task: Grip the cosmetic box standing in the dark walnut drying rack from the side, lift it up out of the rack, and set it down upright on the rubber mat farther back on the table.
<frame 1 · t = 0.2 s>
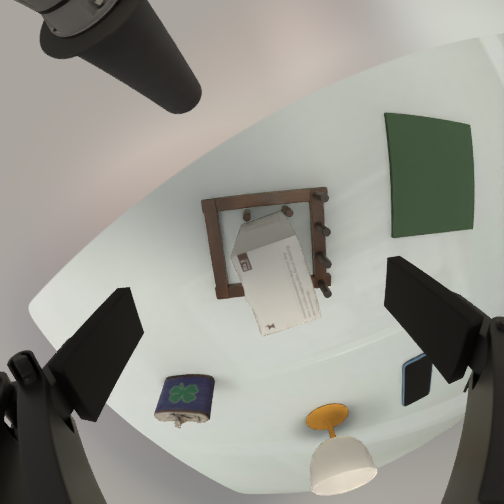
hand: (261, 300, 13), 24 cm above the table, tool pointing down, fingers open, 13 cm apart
flask: (189, 379, 44), on the table
rack: (269, 243, 37), on the table
cup: (327, 416, 48), on the table
cosmetic box: (268, 243, 37), resting in rack
smartphone: (416, 379, 46), on the table
mat: (436, 175, 34), on the table
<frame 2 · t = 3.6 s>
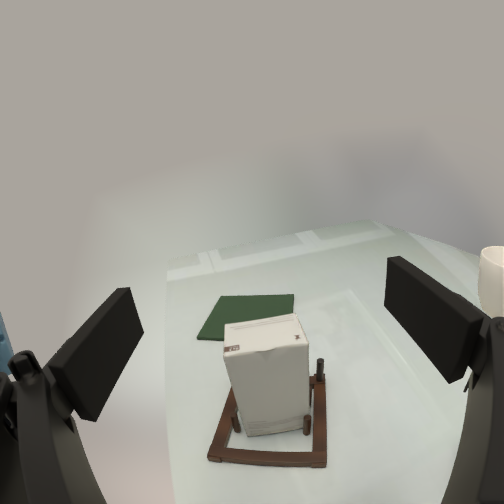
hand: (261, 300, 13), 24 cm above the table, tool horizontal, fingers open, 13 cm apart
rack: (273, 418, 31), on the table
cup: (486, 348, 32), on the table
cosmetic box: (274, 419, 31), resting in rack
mat: (250, 316, 58), on the table
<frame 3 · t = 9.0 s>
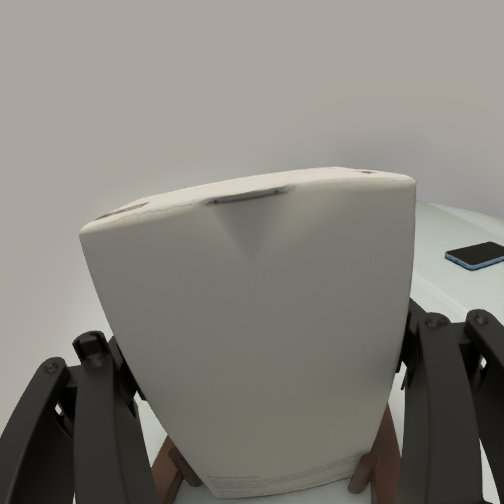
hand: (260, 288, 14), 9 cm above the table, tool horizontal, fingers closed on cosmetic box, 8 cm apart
rack: (278, 456, 12), on the table
cosmetic box: (279, 458, 12), resting in rack, touching gripper
smartphone: (482, 257, 33), on the table
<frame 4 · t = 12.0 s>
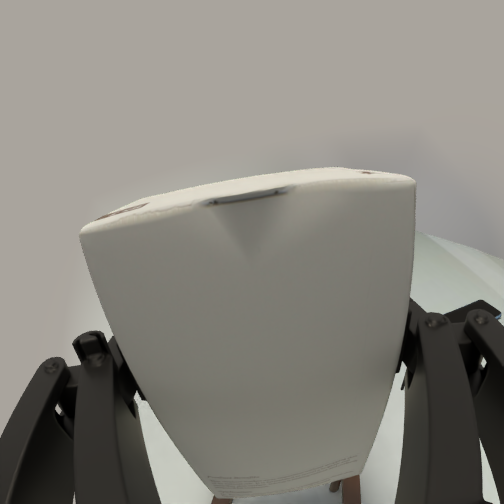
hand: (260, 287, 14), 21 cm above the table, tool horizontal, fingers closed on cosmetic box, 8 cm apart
cosmetic box: (279, 459, 12), point 12 cm above the table, touching gripper
smartphone: (470, 320, 37), on the table
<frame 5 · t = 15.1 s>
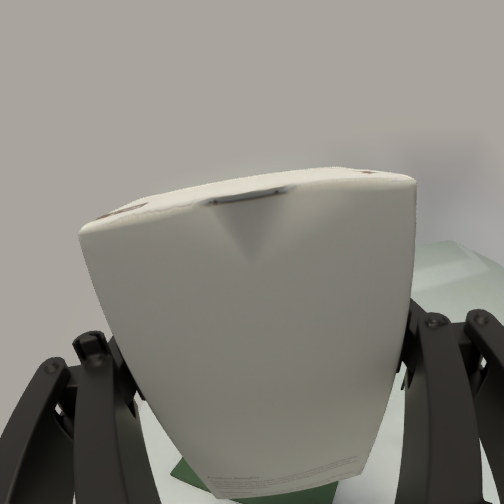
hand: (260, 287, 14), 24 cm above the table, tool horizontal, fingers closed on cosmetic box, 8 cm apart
cosmetic box: (279, 459, 12), point 15 cm above the table, touching gripper
mat: (271, 445, 27), on the table
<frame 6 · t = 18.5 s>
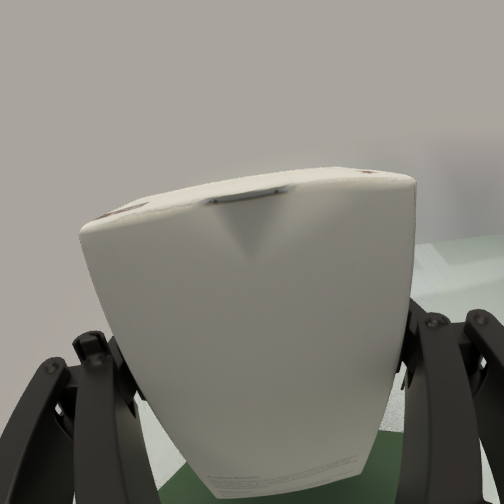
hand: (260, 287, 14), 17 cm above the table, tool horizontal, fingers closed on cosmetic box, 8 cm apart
cosmetic box: (279, 459, 12), point 8 cm above the table, touching gripper
mat: (282, 497, 15), on the table
when the fingers open (10 cm above the table, at t = 21.1 s): cosmetic box stays where it is, resting on mat.
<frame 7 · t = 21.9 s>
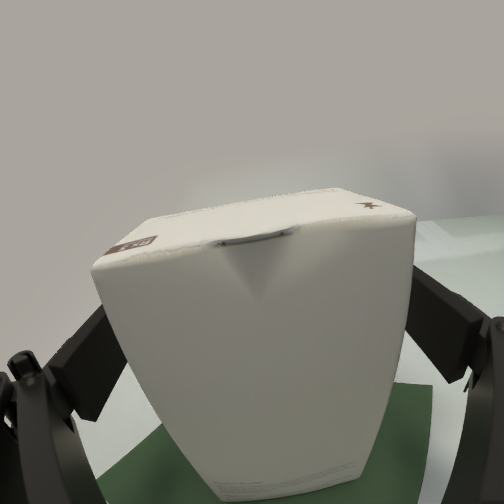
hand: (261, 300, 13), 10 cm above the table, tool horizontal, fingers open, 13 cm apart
cosmetic box: (282, 463, 13), resting on mat
mat: (280, 465, 13), on the table
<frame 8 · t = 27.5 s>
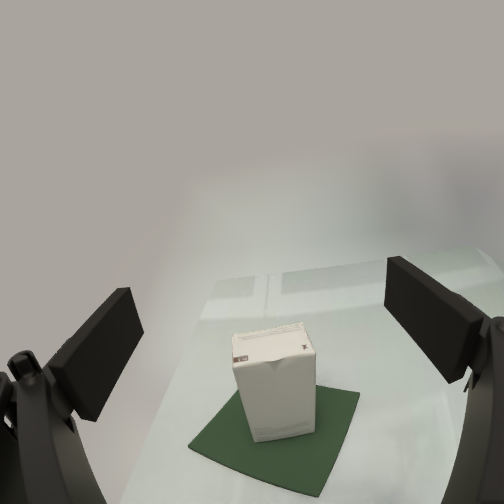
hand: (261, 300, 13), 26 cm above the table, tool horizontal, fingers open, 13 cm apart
cosmetic box: (280, 425, 31), resting on mat
mat: (279, 426, 32), on the table
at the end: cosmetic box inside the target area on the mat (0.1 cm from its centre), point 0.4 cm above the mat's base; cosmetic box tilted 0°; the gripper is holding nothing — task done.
